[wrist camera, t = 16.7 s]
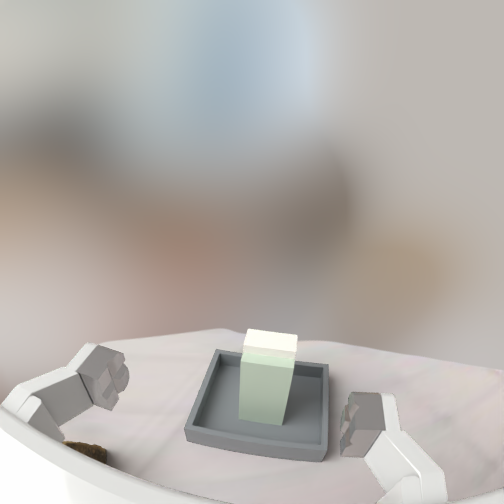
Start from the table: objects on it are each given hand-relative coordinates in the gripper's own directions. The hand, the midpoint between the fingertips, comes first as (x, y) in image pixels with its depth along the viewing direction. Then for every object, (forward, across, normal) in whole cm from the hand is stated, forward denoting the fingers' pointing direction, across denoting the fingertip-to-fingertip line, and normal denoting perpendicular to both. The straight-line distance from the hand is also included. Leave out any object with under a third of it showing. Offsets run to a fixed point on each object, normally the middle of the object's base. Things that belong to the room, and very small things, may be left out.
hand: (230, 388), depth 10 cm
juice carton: (+21, 0, +29) cm, 36 cm away
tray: (+21, 0, +30) cm, 37 cm away
